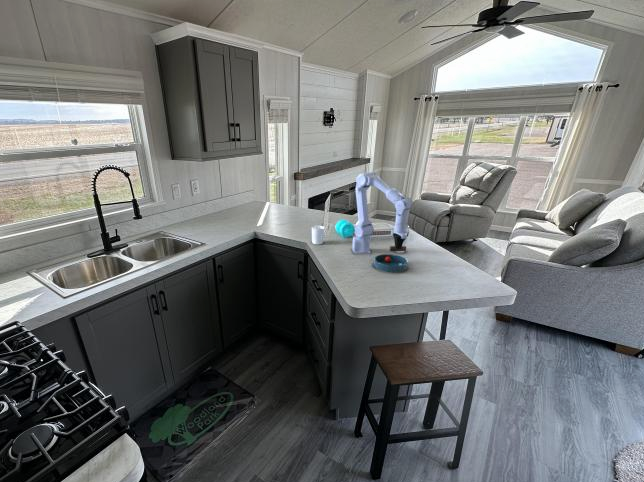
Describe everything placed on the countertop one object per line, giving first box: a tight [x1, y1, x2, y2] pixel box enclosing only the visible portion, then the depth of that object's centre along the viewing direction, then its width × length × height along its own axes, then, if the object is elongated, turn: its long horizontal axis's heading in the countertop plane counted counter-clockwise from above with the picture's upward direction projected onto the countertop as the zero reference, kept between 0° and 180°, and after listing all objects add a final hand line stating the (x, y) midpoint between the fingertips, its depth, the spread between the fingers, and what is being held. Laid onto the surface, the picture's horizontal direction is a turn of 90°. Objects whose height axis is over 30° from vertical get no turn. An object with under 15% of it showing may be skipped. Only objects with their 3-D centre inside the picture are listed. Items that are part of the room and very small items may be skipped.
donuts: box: [335, 219, 356, 238], centre depth 214 cm, size 10×10×10 cm
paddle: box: [389, 245, 407, 252], centre depth 170 cm, size 8×2×2 cm, turn 86°
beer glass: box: [394, 224, 410, 254], centre depth 185 cm, size 7×7×15 cm
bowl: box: [373, 253, 409, 273], centre depth 168 cm, size 16×16×4 cm
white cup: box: [311, 225, 326, 245], centre depth 203 cm, size 8×8×10 cm
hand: (397, 247), depth 170 cm, fingers closed on paddle, 2 cm apart
